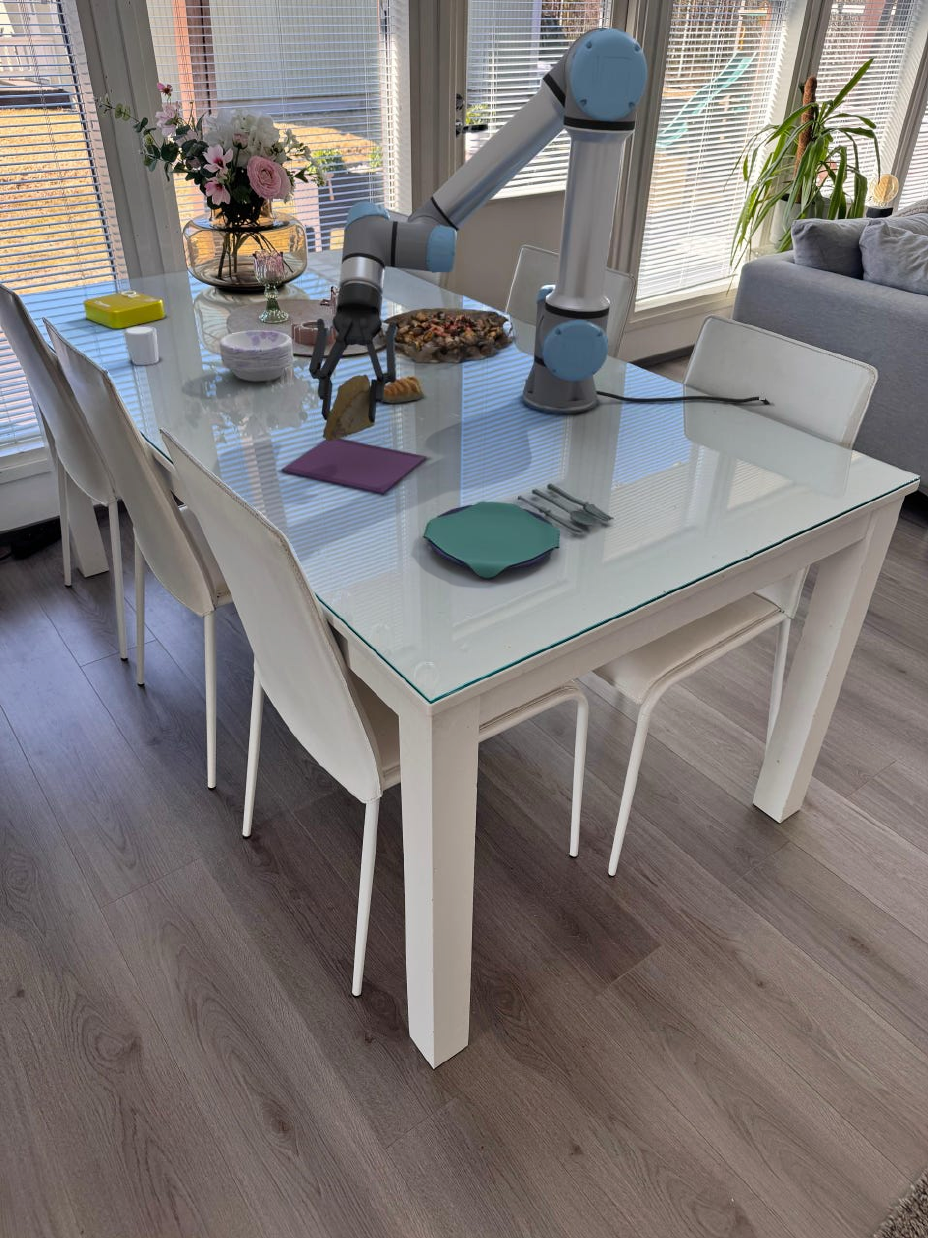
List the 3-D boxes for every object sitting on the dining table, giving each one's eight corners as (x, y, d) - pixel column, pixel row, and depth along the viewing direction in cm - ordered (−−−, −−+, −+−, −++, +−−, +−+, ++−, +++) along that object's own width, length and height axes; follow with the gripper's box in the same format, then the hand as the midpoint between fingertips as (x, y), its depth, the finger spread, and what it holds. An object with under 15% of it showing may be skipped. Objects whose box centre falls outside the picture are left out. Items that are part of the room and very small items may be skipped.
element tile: (83, 317, 227) (79, 298, 224) (135, 306, 236) (131, 287, 234) (116, 330, 219) (112, 310, 216) (168, 317, 228) (165, 298, 226)
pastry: (389, 407, 180) (388, 389, 178) (370, 398, 184) (369, 380, 182) (426, 397, 185) (426, 379, 183) (407, 388, 189) (406, 371, 187)
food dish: (467, 377, 198) (467, 343, 193) (349, 353, 212) (346, 320, 208) (540, 333, 222) (541, 301, 217) (430, 314, 236) (429, 283, 232)
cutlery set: (400, 538, 136) (399, 524, 135) (544, 486, 151) (545, 474, 150) (482, 594, 123) (483, 580, 122) (631, 532, 139) (632, 518, 137)
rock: (326, 436, 145) (384, 420, 147) (309, 387, 145) (367, 371, 147) (324, 452, 156) (377, 436, 158) (308, 406, 156) (362, 391, 158)
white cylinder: (123, 363, 199) (116, 331, 195) (143, 354, 204) (137, 323, 200) (148, 367, 197) (142, 335, 193) (167, 358, 202) (162, 327, 198)
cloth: (426, 458, 160) (426, 456, 160) (383, 494, 148) (383, 491, 148) (330, 438, 166) (330, 436, 166) (282, 471, 154) (281, 468, 154)
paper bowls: (289, 361, 202) (285, 325, 198) (299, 383, 190) (296, 346, 186) (220, 366, 198) (215, 330, 194) (227, 390, 186) (222, 352, 182)
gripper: (420, 306, 156) (410, 429, 152) (307, 301, 157) (294, 424, 153) (416, 282, 149) (405, 411, 144) (298, 277, 150) (284, 405, 145)
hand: (348, 417), depth 149 cm, fingers closed on rock, 7 cm apart
